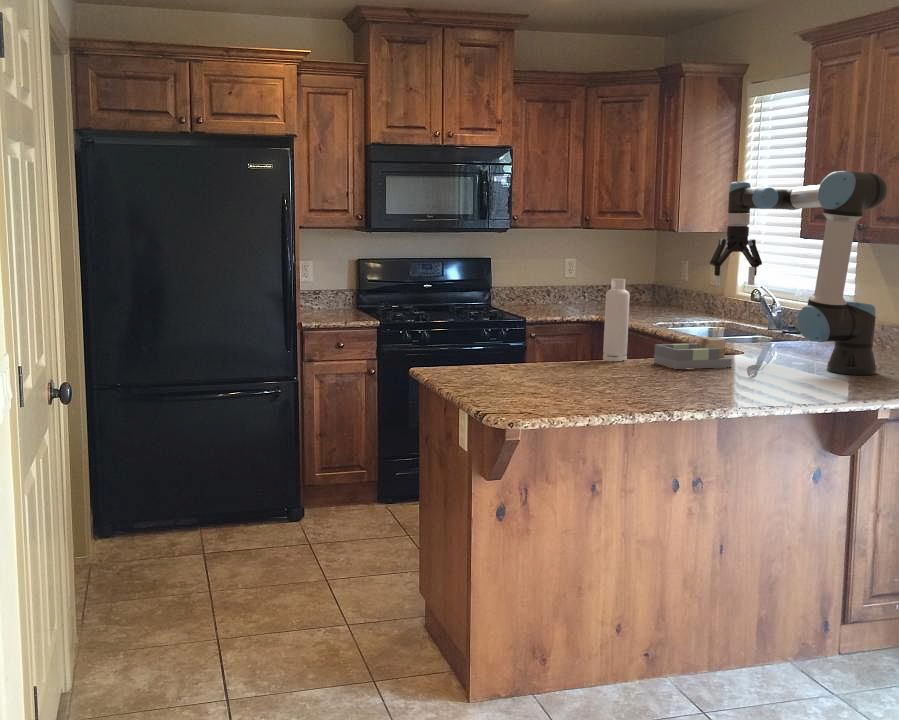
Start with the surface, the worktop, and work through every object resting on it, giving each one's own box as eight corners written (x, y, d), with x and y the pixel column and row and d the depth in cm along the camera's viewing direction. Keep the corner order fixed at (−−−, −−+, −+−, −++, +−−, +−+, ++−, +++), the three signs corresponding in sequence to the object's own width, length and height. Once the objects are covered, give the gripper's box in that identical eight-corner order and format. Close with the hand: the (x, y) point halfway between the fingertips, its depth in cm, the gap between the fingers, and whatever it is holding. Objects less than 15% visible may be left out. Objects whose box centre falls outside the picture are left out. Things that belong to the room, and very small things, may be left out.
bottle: (631, 361, 337) (635, 279, 333) (610, 362, 334) (614, 279, 330) (618, 357, 344) (622, 278, 340) (598, 358, 341) (602, 278, 337)
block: (724, 357, 330) (725, 339, 329) (709, 357, 328) (710, 339, 327) (714, 354, 336) (715, 337, 335) (699, 355, 334) (700, 337, 333)
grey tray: (731, 367, 327) (732, 348, 326) (676, 369, 320) (677, 350, 319) (706, 361, 340) (708, 342, 339) (653, 363, 333) (654, 344, 332)
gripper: (761, 226, 358) (758, 284, 361) (702, 225, 350) (699, 284, 353) (774, 226, 351) (770, 285, 354) (713, 225, 343) (710, 285, 346)
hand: (734, 285), depth 354 cm, fingers open, 13 cm apart
